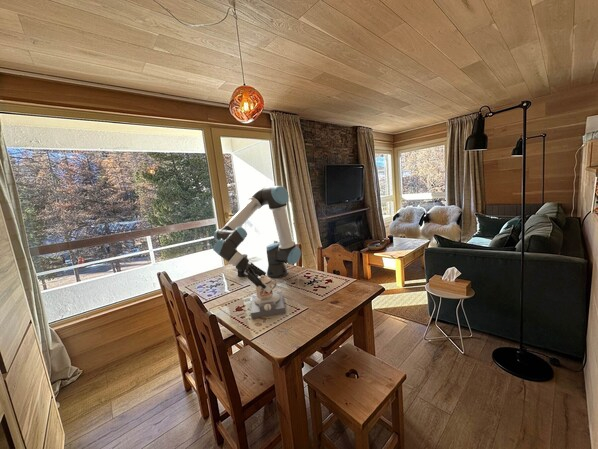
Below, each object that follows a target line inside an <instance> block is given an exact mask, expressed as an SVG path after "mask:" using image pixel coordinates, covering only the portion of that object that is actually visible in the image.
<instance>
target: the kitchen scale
mask: <svg viewBox="0 0 598 449" xmlns="http://www.w3.org/2000/svg"><path fill="white" fill-rule="evenodd" d="M272 292H273V295H272V296H271V297H270V298H267V299H259V298H258V297H257V295H253V296H252V297H251V298H252V299H251V307H250V308H251V309H250V316H251V318H250V319H252V318H253V319H257V318H258V317H259V318H265V317H270V316H277V315H283V314H286V307H285V302H284V296H283V291H278V292H274V291H272Z"/></svg>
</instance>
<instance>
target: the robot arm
mask: <svg viewBox="0 0 598 449" xmlns="http://www.w3.org/2000/svg"><path fill="white" fill-rule="evenodd" d="M289 196H290V195H289V192H288V191H287V189H286V188H285V187H284V186H283V185H272V186H264V187H261V188H259V189H258V190H257V191H255V192H254V193H253V194H252V195H250V197H249V198H248V201H247V202H246V203H245V204H244V205H243V206H242V207H241V208H240V209H239V210H238V212H237V213H236V214H234V215H233V217H232V218H231V219H230V220H229V221H228V222H227V223H226V224H225V225H224V226H223V227H222V228H219V229H217V230H215V231H214V233H213V239H214V240H215V242H216V243H215V244H214V246H213V247H212V250H213V251H214V252H215V253H216V254H217V255H218V256H220V257H221V258H223V259H224V260H225V261H226V262H228V263H229V265H232V266H233V267H235V269H236V270H237V269H238V270H239V271H241V270H243V271H244V273H243V274H244V275H245V276H244V277H246V279H247V278H248V280H249V281H250V282H251V283H253V285H255V287H256V286H257V287H258V286H260V287H262V288H263V289H264V290H265V291H267V292H268V293H269V292H270V291H271V290H272V288H273V287H272V288H270V287H269V286H268V285H267V284H265V283H264V282H263V281H262V282H261V280H260V279H259V278H260V277H261V275H264V276H265V277H269V278H271V280H273V279H278V278H283V277H286V276H287V275H288V269H287V266H286V264H289V265H295V264H297V263H298V262H299V261H300V259H301V254H302V251H301V249H300V248H299V247H298V246H297V244H296V241H293V238H292V237H293V236H292V232H291V229H290V223H289V219H288V215H287V214H288V213H287V211H286V207H287V203H288V201H289ZM266 205H268V208H269V209H270V210H271V211H272V216H273V220H274V224H275V228H276V231H277V232H276V233H277V236H278V240H279V242H275V243H270V244H268V245H267V246H266V256H267V263H268V266H267V270H266V271H264V270H262V269H261V268H260V267H258V266H256V265H255V264H254V263H253V262H251V263H249V262H250V260H249V259H247V258H248V257H247V258H246V257H243V254H242V253H240V251H238V250H237V248H238V247H239V245H240V244H241V243H243V242H244V241H245V239H246V237H247V236H248V232H247V231H246V229H245V228H243V227H242V226H244V224H245V223H246V222H247V221H248V220H249V219H250V218H251V217H252V216H253V214H255V212H256V211H257V210H260V209H261V208H262V207H264V206H266ZM238 270H237V271H238ZM258 276H259V277H258ZM271 283H272V285H274V284H275V282H271ZM272 291H273V290H272Z"/></svg>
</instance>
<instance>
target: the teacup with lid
mask: <svg viewBox="0 0 598 449" xmlns="http://www.w3.org/2000/svg"><path fill="white" fill-rule="evenodd" d="M258 278H259V279H260V280H261V282H262V281H263V282H264V283H265V284H267V285H268V286H269V287H270V288H272V290H271V291H270V292H269V293H268V292H267V291H265V290H264V289H263V288H262V287H260V286H258V287H257V286H256V285H255V289H256V291H255V292H256V296H257V297H258V298H259V299H267V298H270V297H271V296H272V295H273V292H274V291H273V290H274V289H276V287H277V281H276V280H273V279H272V278H270V277H265V276H264V275H261V277H260V276H259V277H258ZM271 279H272V280H271ZM271 282H274V284H272V283H271Z"/></svg>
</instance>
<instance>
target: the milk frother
mask: <svg viewBox="0 0 598 449" xmlns="http://www.w3.org/2000/svg"><path fill="white" fill-rule="evenodd" d="M242 255H243V257H246V258H247V259H248V254H242ZM248 260H249V259H248ZM236 270H237V276H238V277H246V276H245V275H244V274H243V273H244V271H243V270H241V271H239V270H238V269H236Z"/></svg>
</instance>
